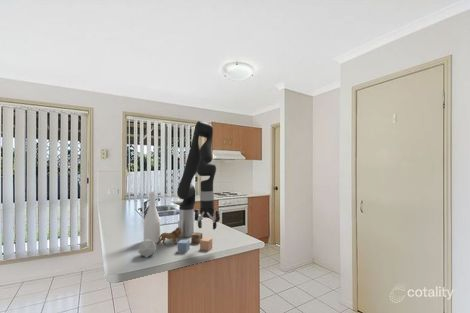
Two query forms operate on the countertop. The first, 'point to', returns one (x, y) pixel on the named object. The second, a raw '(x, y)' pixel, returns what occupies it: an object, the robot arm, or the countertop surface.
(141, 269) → the countertop surface
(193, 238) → the walnut cube
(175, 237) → the lion figurine
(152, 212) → the wine bottle
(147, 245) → the grey rounded lump
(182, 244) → the slate blue cube
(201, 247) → the terracotta cube
